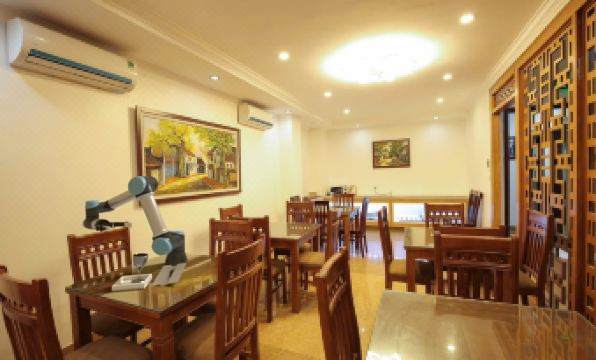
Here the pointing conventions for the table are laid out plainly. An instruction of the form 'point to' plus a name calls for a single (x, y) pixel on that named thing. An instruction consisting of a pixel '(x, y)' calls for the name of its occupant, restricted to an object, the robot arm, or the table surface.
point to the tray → (131, 283)
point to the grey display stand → (169, 274)
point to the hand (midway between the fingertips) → (120, 227)
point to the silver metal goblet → (139, 264)
